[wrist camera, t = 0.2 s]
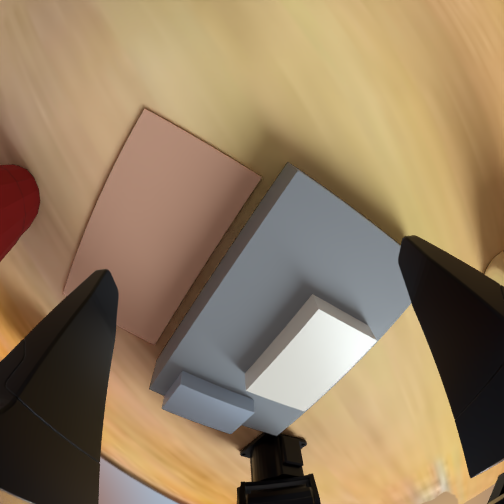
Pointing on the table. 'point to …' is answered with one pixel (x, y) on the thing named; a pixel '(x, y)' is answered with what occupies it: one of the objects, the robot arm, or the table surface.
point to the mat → (159, 221)
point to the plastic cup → (16, 204)
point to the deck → (284, 289)
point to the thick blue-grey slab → (207, 403)
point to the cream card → (309, 355)
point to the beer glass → (496, 269)
